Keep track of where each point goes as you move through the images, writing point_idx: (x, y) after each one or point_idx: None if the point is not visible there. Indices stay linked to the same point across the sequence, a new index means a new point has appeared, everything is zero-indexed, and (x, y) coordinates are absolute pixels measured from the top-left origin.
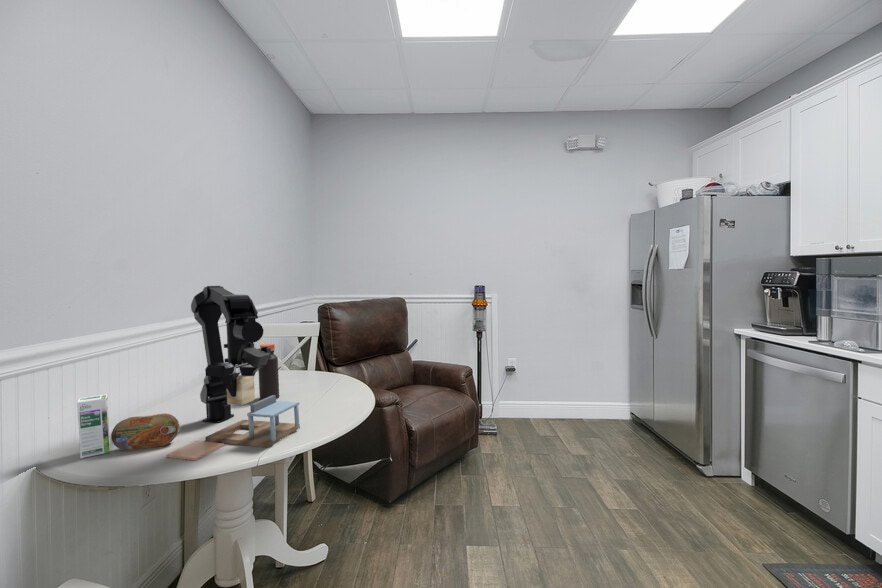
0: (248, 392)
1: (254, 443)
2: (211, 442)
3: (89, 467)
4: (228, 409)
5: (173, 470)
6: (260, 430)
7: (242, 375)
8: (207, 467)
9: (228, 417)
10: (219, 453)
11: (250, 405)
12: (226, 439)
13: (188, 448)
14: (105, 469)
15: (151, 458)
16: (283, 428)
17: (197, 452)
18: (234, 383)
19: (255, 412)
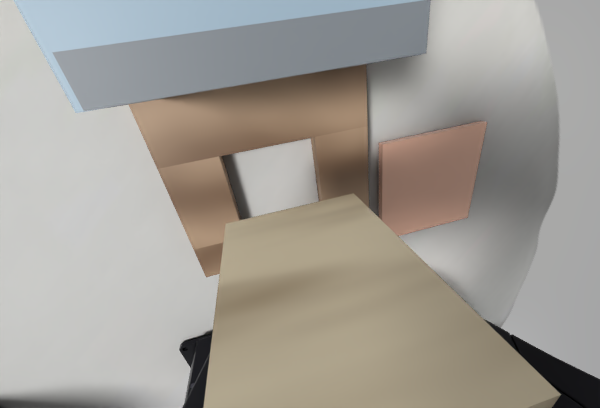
0: (307, 254)
1: None
2: (383, 190)
3: (502, 288)
4: (204, 362)
5: (532, 118)
6: (254, 103)
7: None
8: (524, 28)
9: (206, 337)
10: (430, 96)
11: (421, 51)
12: (367, 156)
13: (429, 207)
14: (512, 258)
15: (467, 237)
16: None
17: (451, 156)
18: (545, 365)
19: (391, 2)
